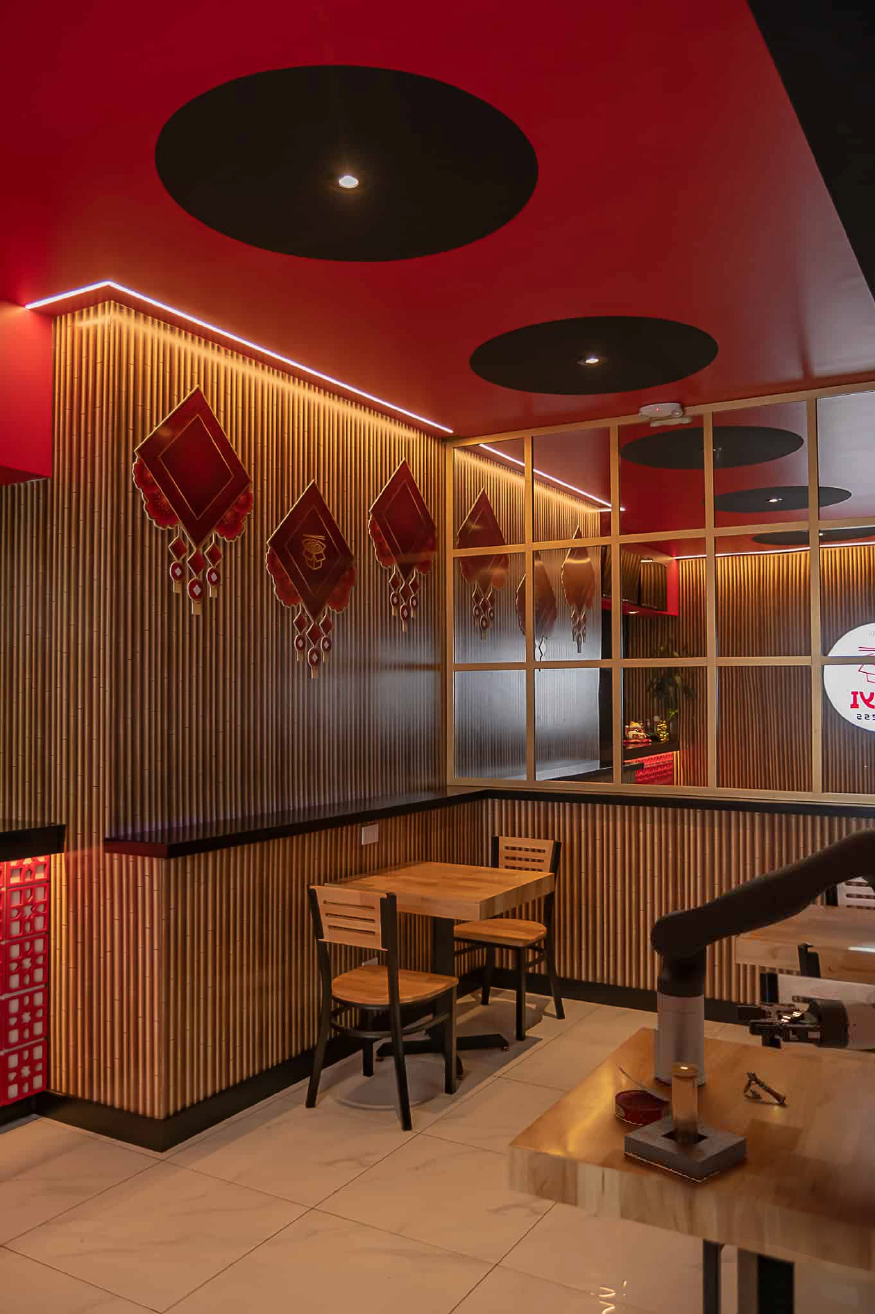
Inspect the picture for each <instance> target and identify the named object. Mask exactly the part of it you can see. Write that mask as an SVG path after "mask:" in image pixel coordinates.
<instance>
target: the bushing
mask: <svg viewBox="0 0 875 1314" xmlns="http://www.w3.org/2000/svg"><path fill="white" fill-rule="evenodd" d="M669 1074H670V1075H672V1085H671V1107H672V1113H671V1114H673V1141H676V1142H679V1143H682V1144H685V1145H688V1146H690V1147H691V1146H693V1145H695V1144H697V1143H698V1123H699V1121H698V1118H699V1117H698V1116H699V1114H698V1086H697V1077H699V1076H700V1068H699V1067H698V1066H697V1065H694V1064H691V1063H685V1062H676V1063H671V1064H669Z"/></svg>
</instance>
